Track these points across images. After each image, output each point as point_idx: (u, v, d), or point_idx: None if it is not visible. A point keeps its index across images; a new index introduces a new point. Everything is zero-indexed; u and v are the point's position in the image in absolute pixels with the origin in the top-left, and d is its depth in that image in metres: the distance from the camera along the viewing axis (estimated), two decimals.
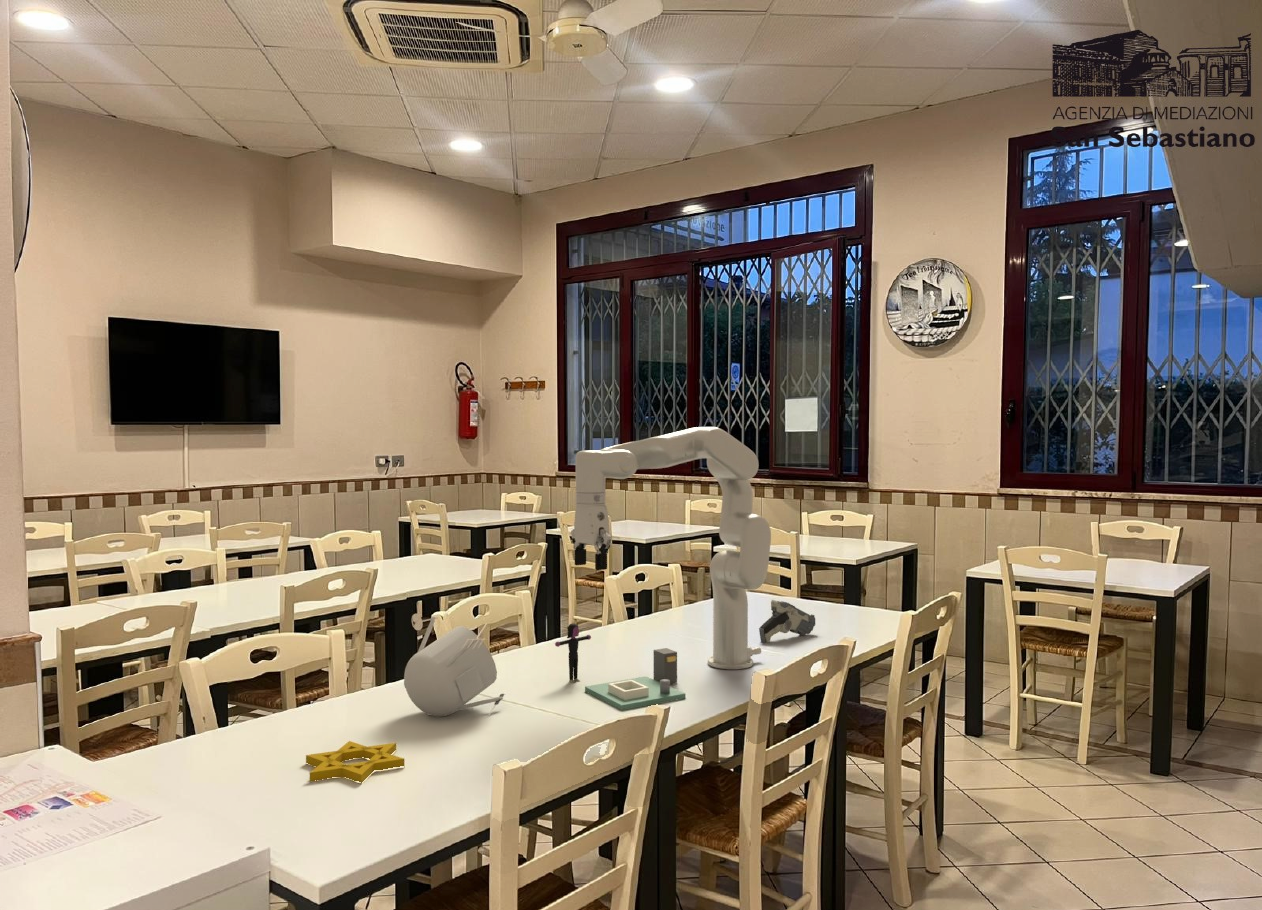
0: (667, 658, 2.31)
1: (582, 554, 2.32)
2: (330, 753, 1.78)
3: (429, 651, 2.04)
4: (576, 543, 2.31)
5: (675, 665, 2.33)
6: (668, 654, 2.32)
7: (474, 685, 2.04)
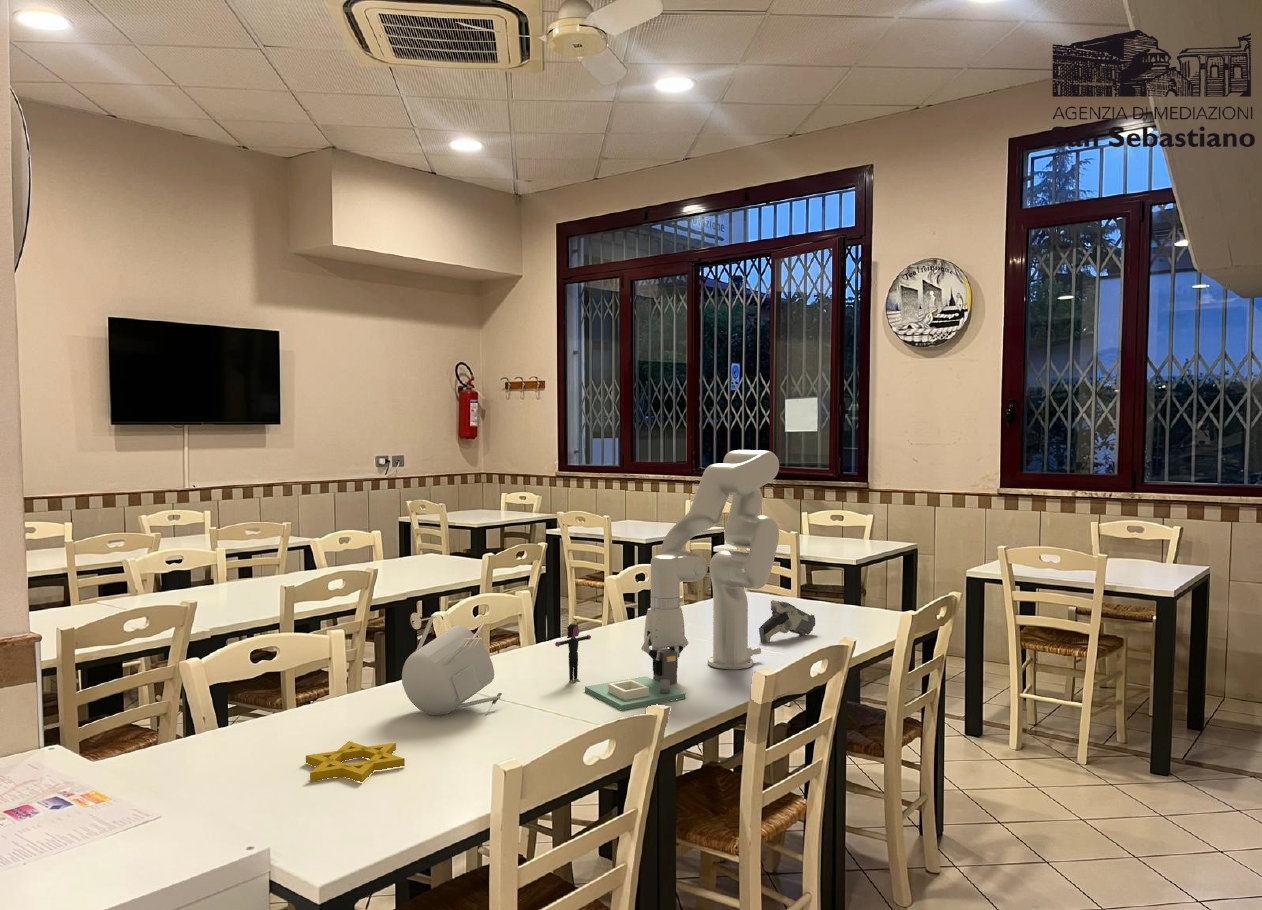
0: (667, 658, 2.31)
1: None
2: (330, 753, 1.78)
3: (426, 650, 2.05)
4: (659, 652, 2.32)
5: (675, 665, 2.33)
6: (668, 654, 2.32)
7: (471, 684, 2.05)
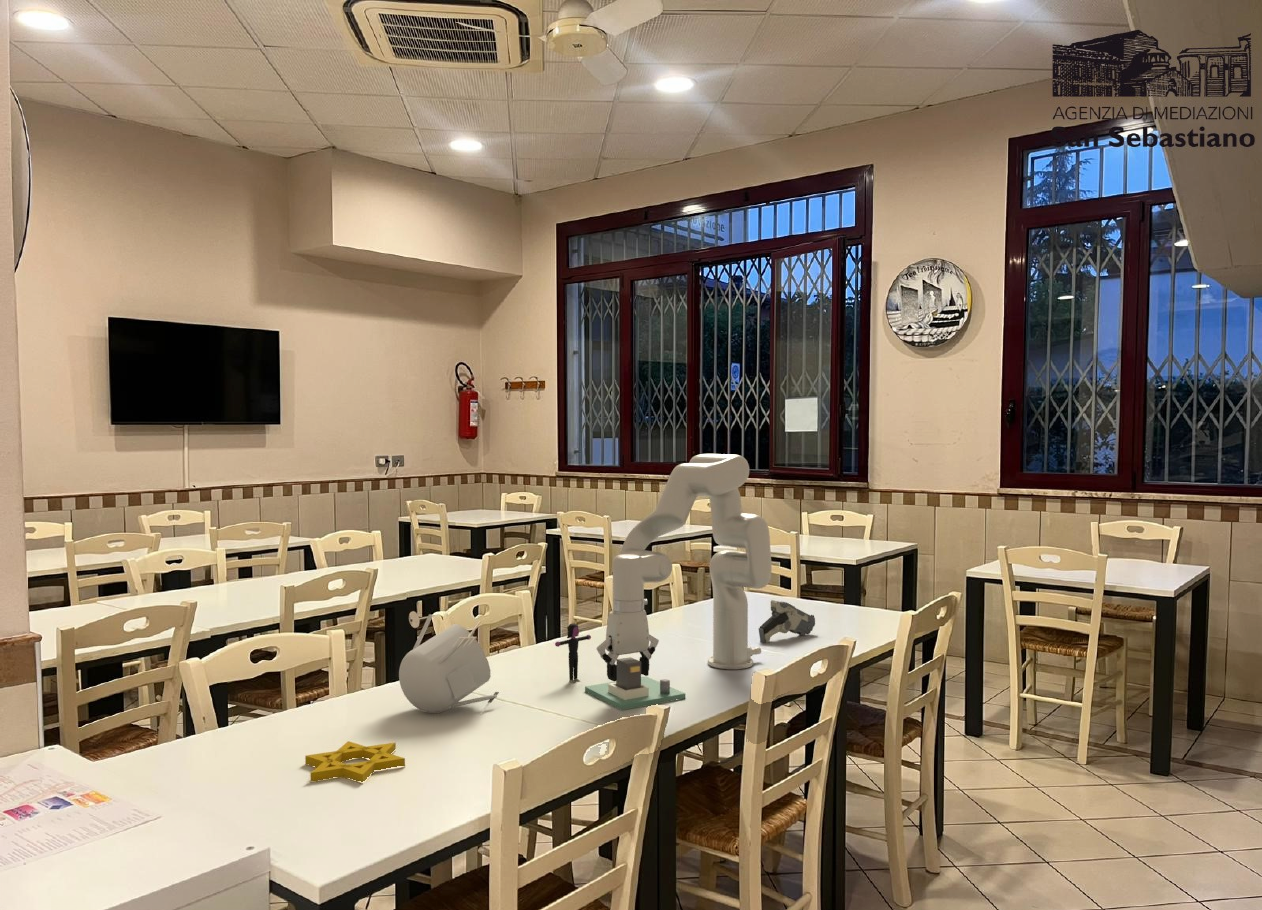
0: (630, 668, 2.16)
1: None
2: (330, 753, 1.78)
3: (423, 649, 2.07)
4: (615, 657, 2.16)
5: (639, 676, 2.18)
6: (631, 664, 2.17)
7: (466, 683, 2.06)
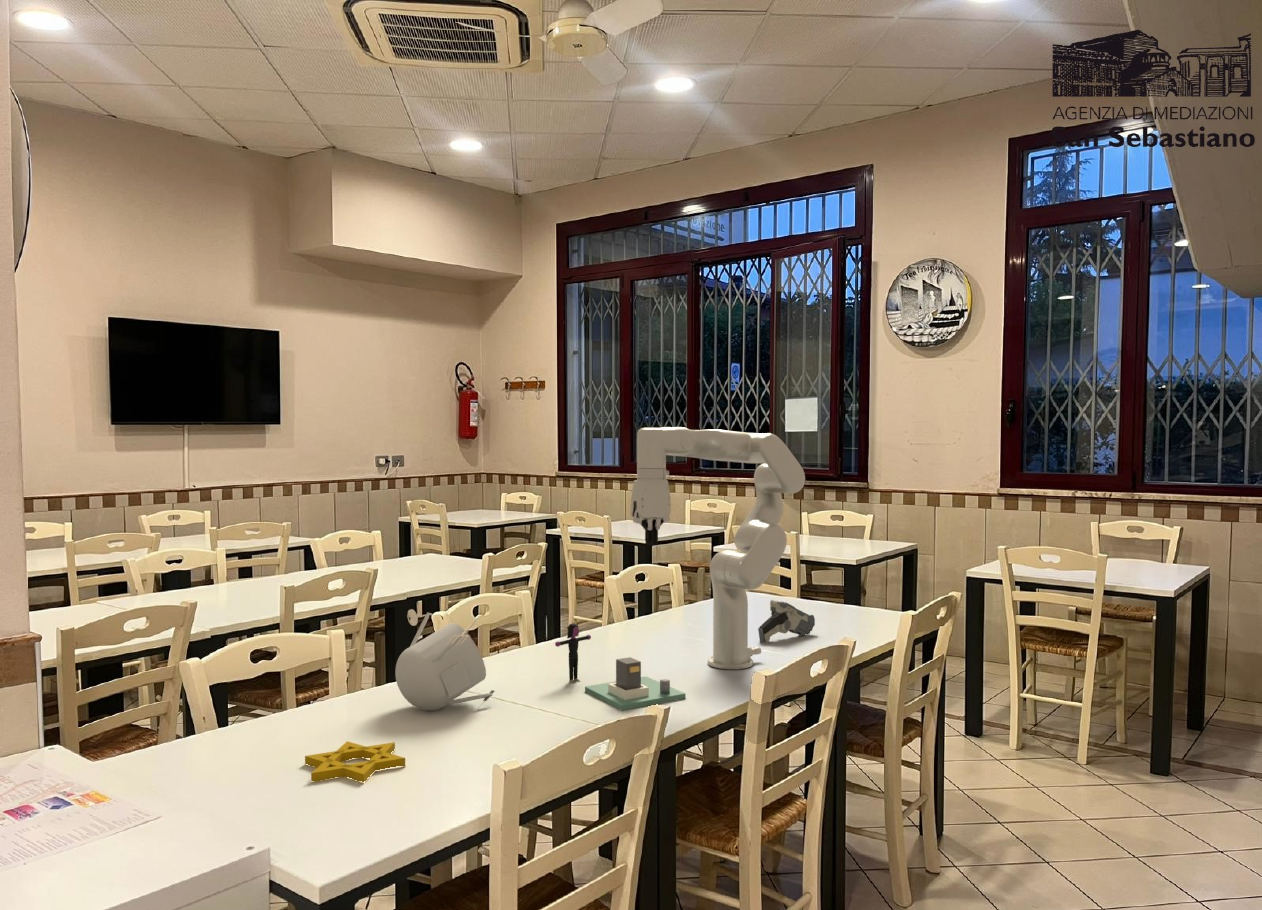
0: (630, 668, 2.16)
1: None
2: (329, 753, 1.77)
3: (418, 646, 2.09)
4: (650, 522, 2.35)
5: (639, 676, 2.18)
6: (631, 664, 2.17)
7: (460, 681, 2.07)
